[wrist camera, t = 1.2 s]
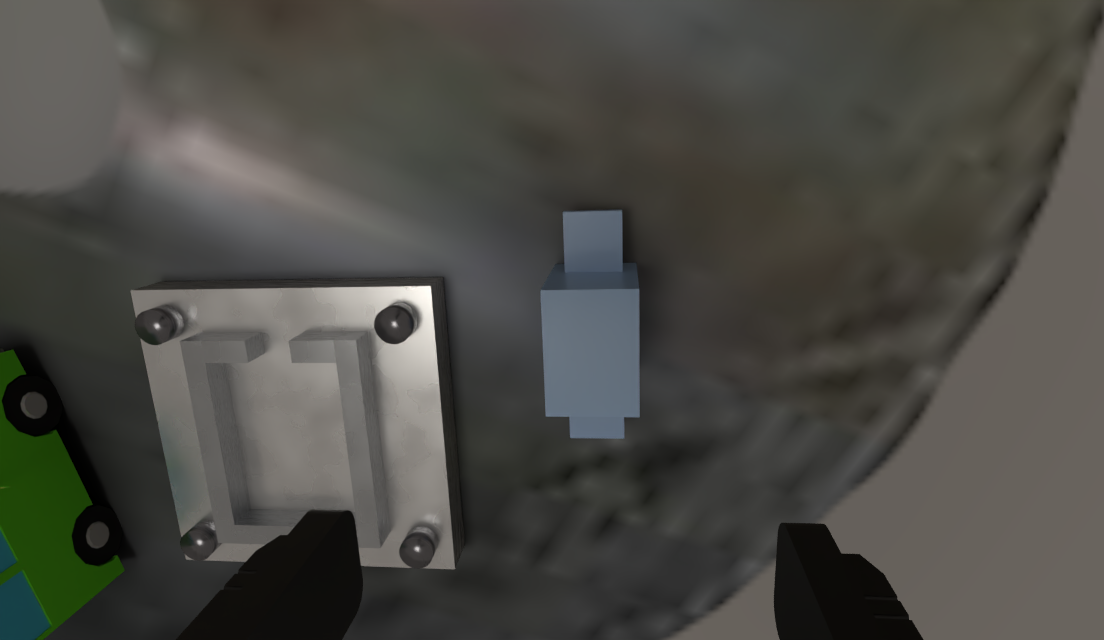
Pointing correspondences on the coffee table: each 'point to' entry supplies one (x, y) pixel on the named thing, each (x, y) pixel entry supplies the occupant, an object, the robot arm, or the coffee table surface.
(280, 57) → the coffee table surface
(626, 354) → the block
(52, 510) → the toy car
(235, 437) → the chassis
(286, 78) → the coffee table surface
